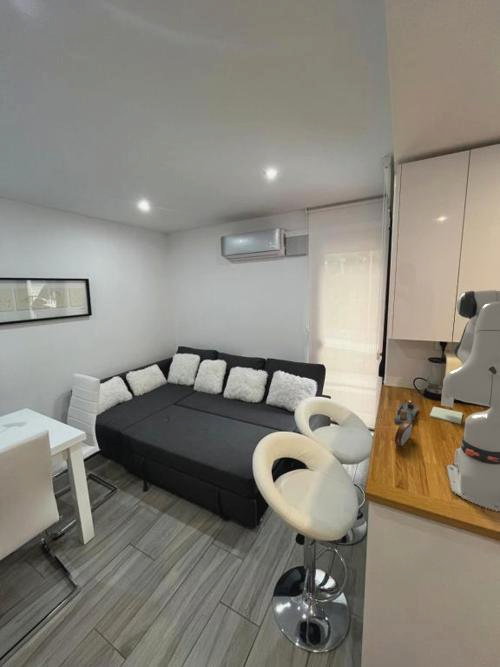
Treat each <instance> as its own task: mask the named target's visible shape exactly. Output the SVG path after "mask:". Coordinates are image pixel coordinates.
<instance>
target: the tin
mask: <svg viewBox="0 0 500 667" xmlns="http://www.w3.org/2000/svg"><path fill="white" fill-rule="evenodd" d="M412 430H413V422H412V423H411V422H409V421H407V420H405V421H404V422H403V423H402V424H399V426H398V428H397V430H396V432H395V435H394V444H395V445H398V446H400V447H403V446H404V445H405V444H406V442H407V441H408V440H410V437H411V435H412Z"/></svg>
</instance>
